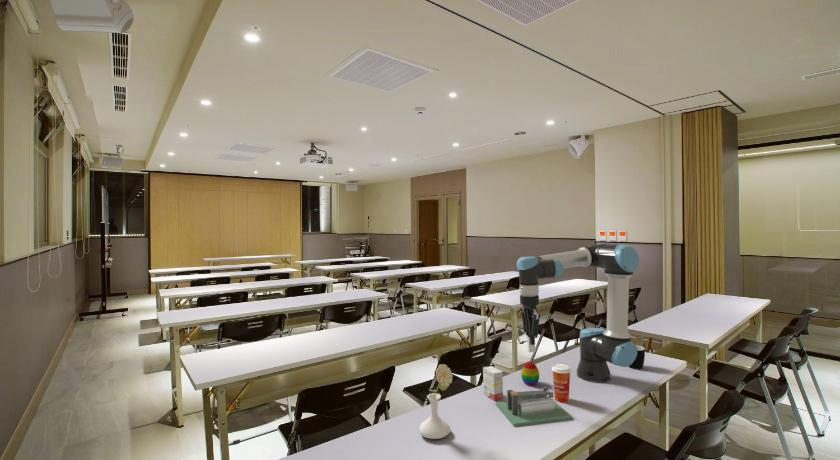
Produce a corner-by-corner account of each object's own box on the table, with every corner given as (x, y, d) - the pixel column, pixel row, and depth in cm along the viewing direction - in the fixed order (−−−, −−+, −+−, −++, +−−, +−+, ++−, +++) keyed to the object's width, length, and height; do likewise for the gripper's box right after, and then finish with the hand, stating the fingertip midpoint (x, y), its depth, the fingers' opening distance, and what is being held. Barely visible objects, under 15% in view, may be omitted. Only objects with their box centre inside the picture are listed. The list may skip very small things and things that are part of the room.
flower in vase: (427, 445, 136) (425, 373, 136) (414, 430, 147) (412, 363, 146) (460, 436, 142) (458, 367, 141) (445, 422, 152) (444, 357, 152)
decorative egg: (539, 387, 181) (538, 365, 181) (520, 385, 184) (520, 364, 184) (539, 380, 189) (539, 359, 189) (522, 378, 192) (521, 358, 191)
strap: (547, 392, 162) (547, 388, 162) (551, 395, 158) (551, 392, 158) (509, 394, 158) (509, 391, 158) (512, 398, 155) (512, 394, 155)
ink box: (503, 399, 171) (503, 371, 170) (494, 401, 169) (493, 373, 168) (492, 391, 178) (491, 365, 178) (483, 393, 176) (482, 367, 176)
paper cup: (549, 399, 169) (548, 367, 168) (556, 393, 174) (556, 362, 174) (567, 405, 163) (566, 371, 163) (574, 399, 169) (574, 366, 169)
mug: (648, 367, 202) (648, 347, 202) (639, 371, 197) (639, 351, 197) (625, 361, 212) (625, 342, 212) (616, 364, 207) (615, 345, 207)
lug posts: (512, 410, 160) (511, 389, 160) (517, 416, 155) (517, 395, 155) (507, 411, 160) (507, 390, 159) (512, 417, 154) (512, 395, 154)
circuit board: (548, 398, 170) (548, 396, 170) (572, 419, 152) (572, 416, 152) (495, 404, 165) (495, 402, 165) (513, 426, 148) (513, 423, 148)
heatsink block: (544, 401, 165) (543, 384, 165) (556, 412, 155) (556, 395, 155) (510, 405, 162) (510, 388, 162) (521, 417, 152) (521, 399, 152)
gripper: (513, 292, 168) (515, 347, 169) (528, 298, 155) (530, 357, 156) (530, 291, 169) (532, 345, 170) (545, 296, 157) (548, 355, 157)
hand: (531, 351), depth 163 cm, fingers closed
